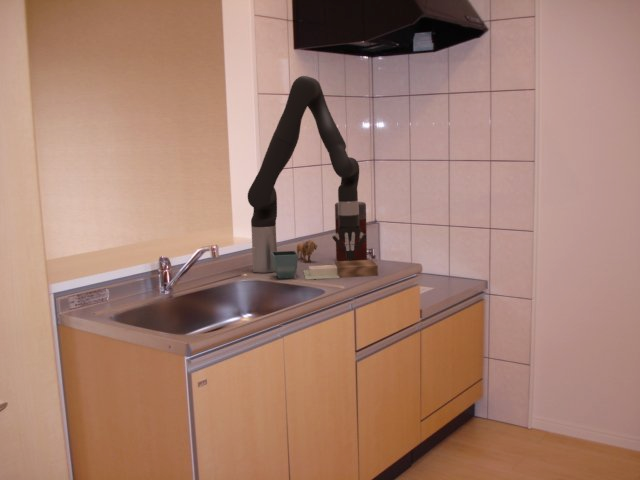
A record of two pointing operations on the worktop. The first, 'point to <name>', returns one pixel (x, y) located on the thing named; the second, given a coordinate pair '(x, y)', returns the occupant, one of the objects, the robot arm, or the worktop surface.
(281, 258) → the flower pot
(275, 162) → the robot arm
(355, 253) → the red drink dispenser
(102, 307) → the worktop surface
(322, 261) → the worktop surface
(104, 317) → the worktop surface
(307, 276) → the mat
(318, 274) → the beige flat block
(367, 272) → the brown wooden block
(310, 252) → the lion figurine
